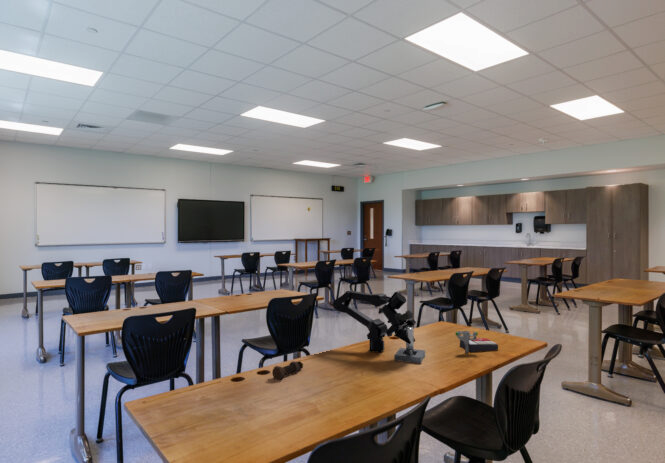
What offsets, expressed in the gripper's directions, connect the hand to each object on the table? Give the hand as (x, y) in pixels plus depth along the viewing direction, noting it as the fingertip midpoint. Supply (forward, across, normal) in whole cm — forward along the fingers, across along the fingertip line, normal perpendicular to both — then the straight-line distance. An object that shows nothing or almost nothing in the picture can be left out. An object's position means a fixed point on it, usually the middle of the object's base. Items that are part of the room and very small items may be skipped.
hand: (412, 342), depth 183 cm
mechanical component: (+16, +25, -5) cm, 30 cm away
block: (+4, 0, +6) cm, 8 cm away
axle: (+4, 0, +6) cm, 7 cm away
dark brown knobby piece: (-14, -51, +26) cm, 59 cm away
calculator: (+17, +36, -6) cm, 41 cm away
